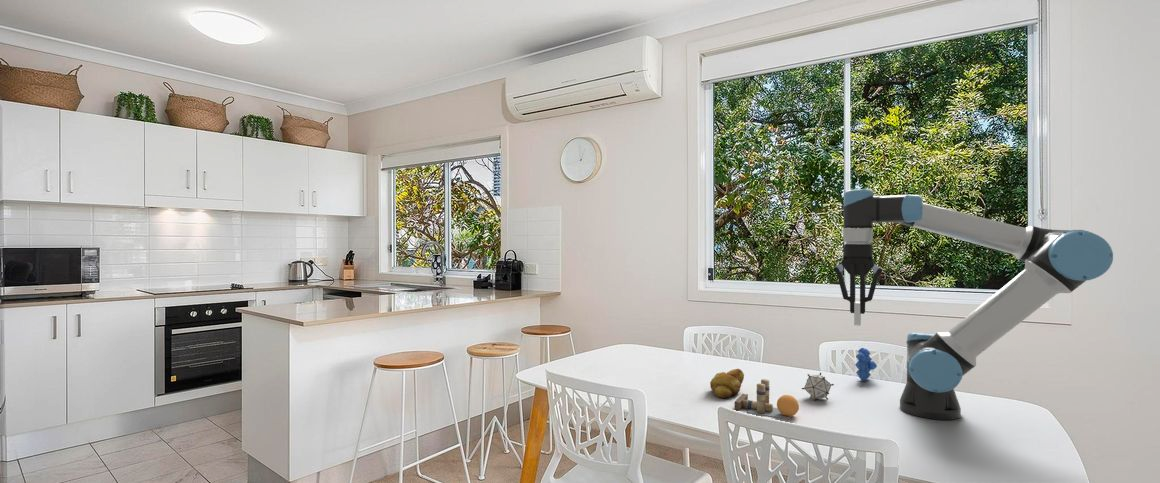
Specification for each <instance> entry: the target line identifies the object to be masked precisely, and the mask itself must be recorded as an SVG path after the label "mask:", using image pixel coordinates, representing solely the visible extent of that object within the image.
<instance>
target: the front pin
mask: <svg viewBox="0 0 1160 483" xmlns="http://www.w3.org/2000/svg"><path fill="white" fill-rule="evenodd" d="M742 407H743V408H744V409H747V410H749V409H755V410H757V400H756V401H754V400H750V399H748V400H744V399H743V401H742ZM773 407H774V404H772V403H769V404H768V403H765V411H766V412H772V411H773ZM743 408H742V409H743Z"/></svg>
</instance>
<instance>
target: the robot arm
mask: <svg viewBox="0 0 1160 483" xmlns="http://www.w3.org/2000/svg"><path fill="white" fill-rule="evenodd" d="M873 191H874V190H872V189H870V188H869V189H868V188H867V189H866V188H865V189H860V188H859V189H856V188H855V189H848V190H846V191H845V192H844V194H843V195H844V196H843V208H842V210H843V242H844V244H843V245H842V246H843V249H842V250H843V254H842V255H843V258H842V261H841V263H840V264H838V265H837V266H834V267H833V271H834V273H835V274H836V275H837V276H836V277H837V279H838V283H839V286H840V291H841V295H842V298H843V300H846V301H848V302H849V312H850V314H854V316H853V318H854V320H853V322H854V323H853V325H854V326H861V323H862V315H865V312H866V302H872V300H873V298H874V294H875V291H876V286H877V284H878V280H879V276H880V275H881V274H882V272H883V271H884V269H883V268H882V267H880V266H878V265H876V264H875V261H874V259H873V258H874V256H873V255H874V254H873V252H874V249H873V248H874V246H873V244H872V242H873V241H874V237H873V236H874V227H873V225H874V224H873V223H893V224H899V225H904V226H907V227H911V228H915V229H919V230H923V231H927V232H930V233H933V234H938V235H942V236H945V237H948V238H952V239H956V240H959V241H963V242H967V243H971V244H974V245H978V246H983V247H985V248H989V249H992V250H997V251H1001V252H1004V253H1008V254H1011V255H1013V256H1014V258H1015V259H1016V260H1020V261H1023V262H1024V269H1023V270H1022V271H1021V272H1019V273H1018V274H1017V275H1016V276H1014V277H1013V278H1012V279H1011V280H1010V281H1008V282H1007V283H1006V284H1004V285H1003V287H1001V288H999V290H997V291H995V293H993V295H992V296H990V297H988V298H987V299H986V300H985V301H984V302H983V303H981V304H980V305H979V306H978V307H976V308H975V309H974V310H973V311H971V312H970V313H969V314H968V315H967V316H966V317H964V318H963V319H962V320H961V321H959V322H958V323H957V324H956V325H955V326H953V327H952V328H950V330H948V331H946V332H945V331H944V332H943V331H937V332H936V333H926V332H925V333H924V332H910V333H908V334H907V337H906V338H907V339H906V342H905V343H906V382H905V386H904V389H903V392H902V393H901V396H900V399H899V408H900V409H901V410H902V411H903V412H905V413H907V414H910V415H912V416H917V417H920V418H924V419H925V418H926V419H929V420H930V419H931V420H939V421H940V420H943V421H950V420H952V421H953V420H957V419H959V418H961V415H962V412H961V411H962V410H961V409H962V408H961V405H960V403H959V399H958V397H957V394H956V392H955V388H956V387H958V385H959V384H960V383H961V381H962V379H963V376H965V375H966V374H967V373H968V372H970V371H971V370H972V369H974V368H975V367H976V366H977V357H978V356H980V354H982V353H983V352H985V350H988V348H989V347H991V346H992V345H993V344H995V343H996V342H998V341H999V340H1000V339H1002V337H1003V336H1005V335H1006V334H1008V333H1009V332H1010V331H1012V330H1013V329H1014V328H1016V326H1018V325H1019V324H1020V323H1022V322H1023V321H1024V320H1026V319H1027V318H1028V317H1030V316H1031V315H1032V314H1033V313H1035V312H1036V311H1037V310H1039V308H1041V307H1042V306H1044V305H1045V304H1046V303H1048V302H1049V301H1050V300H1051V299H1053V298H1054V297H1055V296H1057V295H1059V294H1071V293H1073V291H1075V290H1076V289H1078V288H1079V287H1080V286H1082V285H1083V284H1084V283H1086V281H1091V280H1094V279H1097V278H1099V277H1101V276H1102V275H1104V274H1105V273H1106V272H1108V270H1109V269H1110V268H1111V266H1112V264H1113V261H1114V252H1113V249H1112V247H1111V245H1110V244H1109V242H1107V240H1106V239H1105V238H1103V237H1101V236H1100V235H1099V234H1096V233H1094V232H1092V231H1091V232H1090V231H1089V230H1084V229H1072V230H1070V229H1065V230H1064V229H1051V228H1043V227H1038V226H1033V225H1029V226H1026V227H1022V226H1018V225H1014V224H1011V223H1006V222H1001V221H997V220H994V219H991V218H986V217H982V216H981V217H980V216H979V215H972V214H969V213H965V212H961V211H957V210H955V209H954V210H953V209H950V208H944V207H941V206H937V205H933V204H928V203H924V202H923V196H921V195H920V194H899V195H898V194H897V195H881V196H880V195H874V192H873ZM843 268H844V269H843ZM872 269H873V270H872ZM844 270H845V271H846V272H847V274H848V275H849V294H848V290H847V285H846V282H845V279H844V278H845V277H844V273H843V271H844ZM871 270H872V273H873V274H874V275H873V276H872V280H871V283H870V287H869V291H868V293H867V296H866V275H868V274H869V272H870V271H871ZM856 276H859V301H856V282H857V280H856V279H857V278H856ZM861 314H862V315H861Z"/></svg>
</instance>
